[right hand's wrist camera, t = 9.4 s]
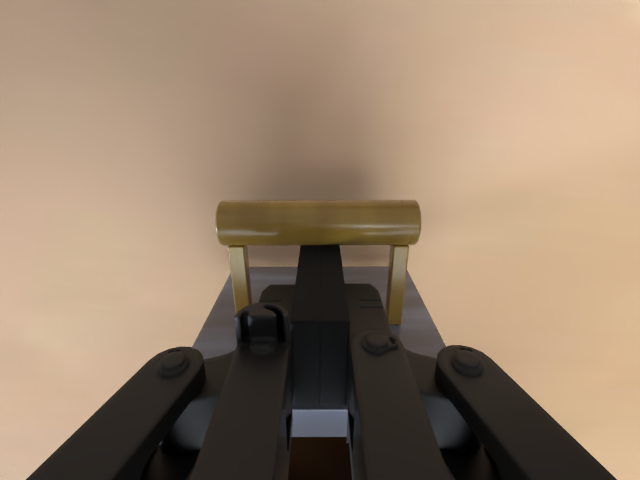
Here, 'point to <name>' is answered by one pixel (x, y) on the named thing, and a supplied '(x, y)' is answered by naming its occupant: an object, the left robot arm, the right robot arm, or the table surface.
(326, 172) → the table surface
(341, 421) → the drawer
